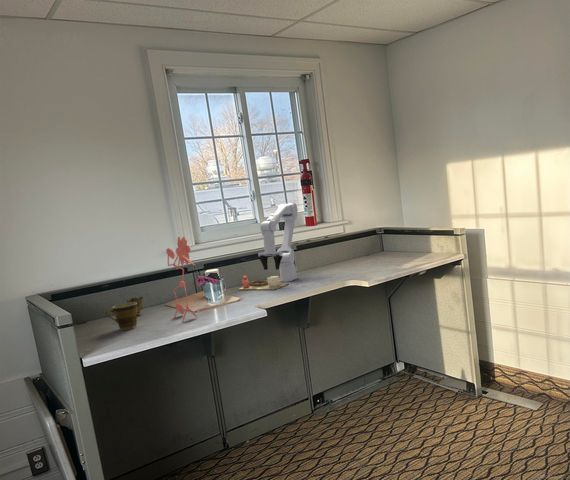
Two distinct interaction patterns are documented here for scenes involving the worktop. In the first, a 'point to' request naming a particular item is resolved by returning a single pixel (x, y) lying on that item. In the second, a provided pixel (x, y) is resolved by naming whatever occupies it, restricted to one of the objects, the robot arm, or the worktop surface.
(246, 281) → the pawn
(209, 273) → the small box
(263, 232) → the robot arm
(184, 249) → the figurine
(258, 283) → the board
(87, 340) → the worktop surface
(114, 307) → the ceramic cup
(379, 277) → the worktop surface
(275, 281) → the die
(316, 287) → the worktop surface
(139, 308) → the cup
